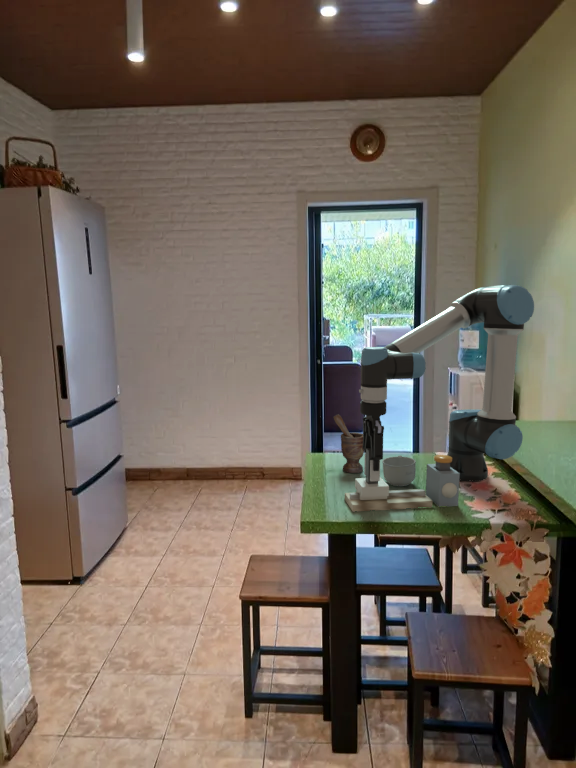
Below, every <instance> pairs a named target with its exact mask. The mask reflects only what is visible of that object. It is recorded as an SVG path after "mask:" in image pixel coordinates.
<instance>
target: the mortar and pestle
mask: <svg viewBox="0 0 576 768" xmlns="http://www.w3.org/2000/svg"><path fill="white" fill-rule="evenodd" d="M332 418H333V420H334V422H335V424H336V426H338V428H339V429H340V431H341V432H342V433H341V434H340V449H341V453H342V456H343V458H345V460H346V463H344V464H343V466H342V471H343V472H344V473H349V474H358V473H359V474H361V473H362V472H363V471H364V469H363V468H364V467H363V465H362V464H361V463H360V460H361V459H362V457H363V456H364V454H365V452H364V449H363V447H362V446H363V433H361V432H349V430H348V428H347V426H346V423H345V421H344V420H343V418H342V416H341V415H340V414H339V413H338V414H335V415H334V416H333V417H332ZM360 472H361V473H360Z"/></svg>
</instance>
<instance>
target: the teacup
mask: <svg viewBox="0 0 576 768" xmlns="http://www.w3.org/2000/svg"><path fill="white" fill-rule="evenodd" d="M381 462H382V472H383V478H384V481H385V482H386V483H388V484H390V485H391V486H395V487H407V486H409V485H410V484H411V483H412V482H414V480H415V479H416V467H417V466H416V463H417V461H416V459H414V458H412V457H410V456H409V457H408V456H403V455H402V454H401V455H397V456H390V457H386V458H383V459H382V461H381Z"/></svg>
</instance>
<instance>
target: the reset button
mask: <svg viewBox="0 0 576 768" xmlns="http://www.w3.org/2000/svg"><path fill="white" fill-rule="evenodd" d="M433 460H434V461H435V464H436V469H437V470H438V471H450V463H451V462H452V457H450V456H447V455H446V454H436V455H434V457H433Z"/></svg>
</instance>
